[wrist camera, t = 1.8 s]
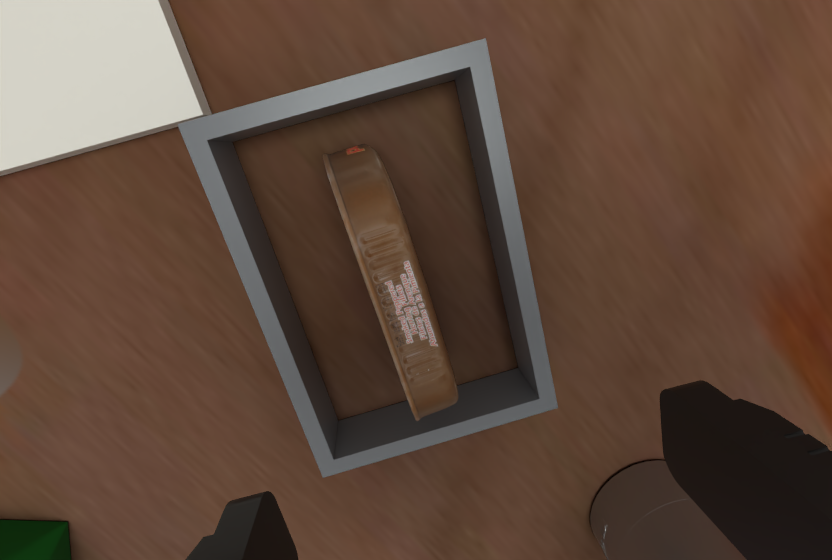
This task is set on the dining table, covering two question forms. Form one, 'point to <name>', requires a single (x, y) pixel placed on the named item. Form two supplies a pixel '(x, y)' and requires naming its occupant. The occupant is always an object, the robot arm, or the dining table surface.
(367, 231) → the tin
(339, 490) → the dining table surface
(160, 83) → the cream board
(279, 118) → the bin
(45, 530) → the milk carton
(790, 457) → the robot arm
